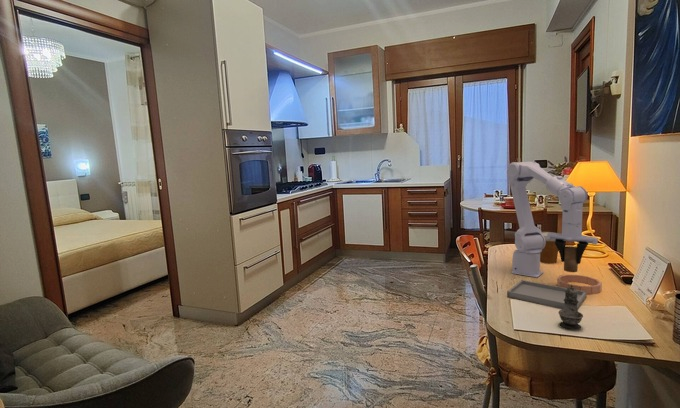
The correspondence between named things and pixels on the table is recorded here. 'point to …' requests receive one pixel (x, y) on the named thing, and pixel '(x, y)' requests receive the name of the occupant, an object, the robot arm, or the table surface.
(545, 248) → the disposable coffee cup
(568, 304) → the dark grey figurine
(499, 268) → the table surface
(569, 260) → the dowel
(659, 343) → the table surface
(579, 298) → the tray
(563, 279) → the pinkish brown ring
